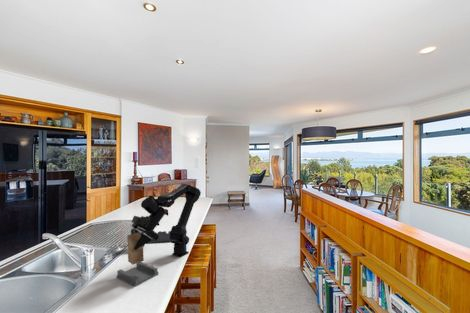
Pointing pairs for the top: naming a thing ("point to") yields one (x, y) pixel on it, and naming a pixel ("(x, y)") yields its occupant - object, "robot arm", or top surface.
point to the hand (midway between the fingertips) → (132, 247)
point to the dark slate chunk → (161, 238)
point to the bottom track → (137, 274)
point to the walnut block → (133, 254)
